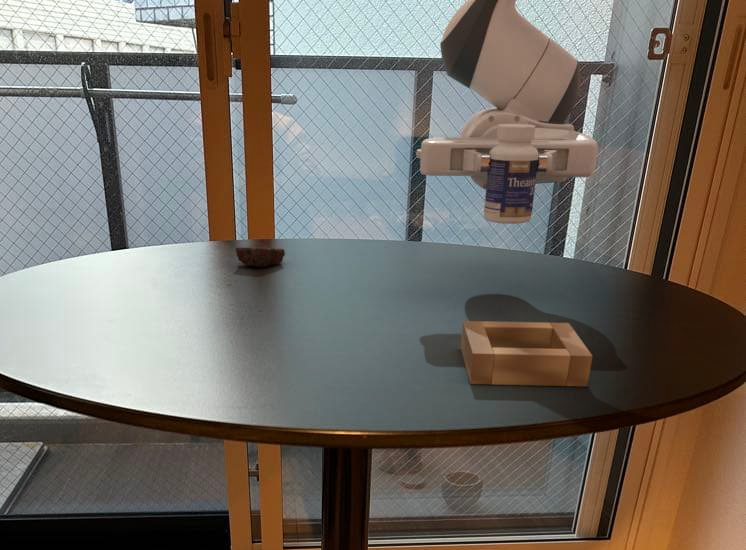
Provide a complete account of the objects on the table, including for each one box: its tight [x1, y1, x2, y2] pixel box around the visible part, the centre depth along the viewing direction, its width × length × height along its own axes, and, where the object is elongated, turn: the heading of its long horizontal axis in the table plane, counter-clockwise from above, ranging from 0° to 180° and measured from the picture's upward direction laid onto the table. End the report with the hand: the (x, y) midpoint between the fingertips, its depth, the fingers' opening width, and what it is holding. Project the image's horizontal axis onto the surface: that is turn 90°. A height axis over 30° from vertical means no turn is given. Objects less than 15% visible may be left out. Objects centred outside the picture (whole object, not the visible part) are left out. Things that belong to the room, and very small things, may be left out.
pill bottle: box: [483, 124, 539, 225], centre depth 89 cm, size 5×5×10 cm
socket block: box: [460, 320, 593, 388], centre depth 79 cm, size 11×11×3 cm
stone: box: [235, 246, 286, 268], centre depth 119 cm, size 7×7×3 cm
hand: (514, 163), depth 88 cm, fingers closed on pill bottle, 5 cm apart
